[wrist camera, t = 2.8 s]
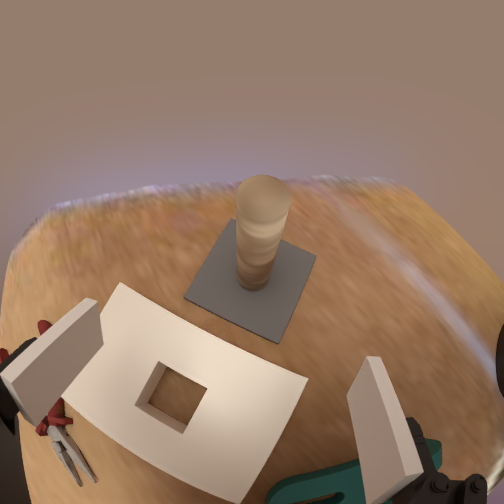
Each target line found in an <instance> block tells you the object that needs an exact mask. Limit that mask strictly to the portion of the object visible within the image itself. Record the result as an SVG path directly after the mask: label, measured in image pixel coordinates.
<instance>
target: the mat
mask: <svg viewBox="0 0 504 504" xmlns="http://www.w3.org/2000/svg"><path fill="white" fill-rule="evenodd" d="M315 259H316V255H314V254H312V253H310V252H307V251H305V250H303V249H301V248H298V247H296V246H294V245H292V244H289V243H287V242H285V241H283V240H280V243H279V246H278V250H277V253H276V257H275V260H274V264H273V267H272V270H271V274H270V277H269V281H268V283H267V285H266V286H265V287H264V288H263V289H261V290H259V291H248V290H245V289H244V288H242V287H241V286H240V285H239V283H238V281H237V239H236V220H234V219H232V218H231V219H230V221H229V223H228V224H227V226H226V227H225V229H224V231H223V232H222V234H221V235H220V237H219V239H218V240H217V242H216V244H215V245H214V247H213V249H212V250H211V252H210V253H209V255H208V257H207V258H206V260H205V262H204V263H203V265H202V267H201V268H200V270H199V272H198V273H197V275H196V277H195V278H194V280H193V282H192V283H191V285H190V287H189V289H188V290H187V292H186V294H185V295H184V298H185V299H187V300H188V301H190V302H192V303H194V304H196V305H198V306H200V307H202V308H204V309H206V310H208V311H210V312H211V313H213V314H215V315H217V316H219V317H221V318H223V319H225V320H227V321H229V322H231V323H234V324H236V325H238V326H240V327H242V328H244V329H246V330H248V331H250V332H252V333H254V334H257V335H259V336H261V337H263V338H265V339H267V340H270V341H272V342H274V343H276V344H279V342H280V340H281V338H282V335H283V333H284V331H285V329H286V327H287V324H288V322H289V320H290V318H291V315H292V313H293V311H294V309H295V306H296V304H297V302H298V299H299V297H300V295H301V292H302V290H303V288H304V285H305V283H306V281H307V278H308V276H309V273H310V271H311V269H312V266H313V264H314V261H315Z"/></svg>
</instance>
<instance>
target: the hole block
mask: <svg viewBox="0 0 504 504" xmlns="http://www.w3.org/2000/svg"><path fill="white" fill-rule="evenodd" d="M100 322H101V329H102V336H103V342H104V345H103V346H102V347H101V348H100V350H99V351H98V352H97V353H96V354H95V355H94V357H93V358H92V359H91V360H90V361H89V363H88V364H87V365H86V366H85V367H84V368H83V370H82V371H81V372H80V373H79V374H78V376H77V377H76V378H75V379H74V381H73V382H72V383H71V384H70V385H69V387H68V388H67V389H66V390H65V392H64V393H63V394H62V395H61V397H62V398H63V399H64V400H65V401H66V402H67V403H68V404H70V405H71V406H72V407H73V408H74V409H75V410H76V411H77V412H79V413H80V414H81V415H82V416H83V417H85V418H86V419H87V420H88V421H89V422H91V423H92V424H93V425H94V426H96V427H97V428H98V429H100V430H101V431H102V432H104V433H105V434H106V435H108V436H109V437H110V438H112V439H113V440H115V441H116V442H117V443H119V444H120V445H122V446H123V447H125V448H126V449H128V450H129V451H131V452H132V453H134V454H135V455H137V456H139V457H140V458H142V459H143V460H145V461H147V462H148V463H150V464H152V465H154V466H155V467H157V468H159V469H161V470H162V471H164V472H166V473H168V474H170V475H172V476H174V477H175V478H177V479H179V480H181V481H183V482H185V483H188V484H190V485H192V486H194V487H196V488H198V489H201V490H203V491H205V492H207V493H210V494H212V495H215V496H217V497H220V498H222V499H225V500H227V501H230V502H233V503H236V504H240V503H241V502H242V500H243V498H244V497H245V495H246V494H247V492H248V491H249V489H250V488H251V486H252V484H253V483H254V481H255V479H256V478H257V476H258V475H259V473H260V471H261V470H262V468H263V466H264V464H265V463H266V461H267V459H268V457H269V456H270V454H271V452H272V450H273V449H274V447H275V445H276V443H277V441H278V439H279V437H280V436H281V434H282V432H283V430H284V428H285V426H286V424H287V422H288V420H289V418H290V416H291V414H292V412H293V410H294V408H295V406H296V404H297V402H298V400H299V398H300V396H301V393H302V391H303V389H304V387H305V385H306V383H307V380H308V378H305V377H303V376H300V375H298V374H296V373H293V372H291V371H288V370H286V369H284V368H281V367H279V366H277V365H274V364H272V363H270V362H268V361H265V360H263V359H261V358H259V357H257V356H255V355H252V354H250V353H248V352H246V351H244V350H242V349H240V348H238V347H236V346H233V345H231V344H229V343H227V342H225V341H223V340H221V339H219V338H217V337H215V336H213V335H212V334H210V333H208V332H206V331H204V330H202V329H200V328H198V327H196V326H194V325H193V324H191V323H189V322H187V321H185V320H183V319H182V318H180V317H178V316H176V315H174V314H173V313H171V312H169V311H167V310H166V309H164V308H162V307H160V306H159V305H157V304H155V303H154V302H152V301H150V300H148V299H147V298H145V297H143V296H142V295H140V294H139V293H137V292H135V291H134V290H132V289H130V288H129V287H127V286H126V285H124V284H122V283H121V282H120V283H119V284H118V286H117V287H116V289H115V291H114V292H113V294H112V296H111V297H110V299H109V301H108V302H107V304H106V306H105V307H104V309H103V311H102V312H101V314H100ZM167 366H168V367H170V368H171V369H173V370H175V371H176V372H178V373H180V374H182V375H184V376H185V377H187V378H189V379H191V380H193V381H194V382H196V383H198V384H200V385H202V386H204V387H206V388H208V389H207V391H206V393H205V395H204V396H203V398H202V400H201V402H200V404H199V406H198V408H197V409H196V411H195V413H194V415H193V417H192V419H191V420H190V422H189V424H188V426H187V425H185V424H183V423H181V422H179V421H178V420H176V419H174V418H172V417H170V416H169V415H167V414H165V413H164V412H162V411H160V410H159V409H157V408H155V407H154V406H152V405H150V404H149V403H148V401H149V400H150V398H151V396H152V394H153V392H154V390H155V388H156V387H157V385H158V383H159V381H160V379H161V377H162V375H163V374H164V372H165V370H166V368H167Z"/></svg>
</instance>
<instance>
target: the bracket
mask: <svg viewBox="0 0 504 504" xmlns="http://www.w3.org/2000/svg"><path fill="white" fill-rule="evenodd" d="M425 440H426V444H427V446H428V448H429V451H430V454H431V457H432V459H433V462H434V465H435V468H436V470H438V469H439V468H440V467H441V465H442V444H441V442H440V441H437V440H432V439H426V438H425ZM335 492H338V493H337V494H336V495H335V496H334V497H331V498H328V499H324V500H320V501H316V502H312V503H308V504H366V497H365V491H364V484H363V478H362V472H361V466H360V460H359V459H356V460H353V461H350V462H347V463H344V464H340V465H337V466H333V467H330V468H326V469H322V470H319V471H315V472H310V473H306V474H301V475H297V476H292V477H289V478H286V479H284V480H282V481H280V482H278V483H277V484H276V485H275V486H273V487H272V488H271V490H270V491H269V493H268V494H267V497H266V504H291V503H295V502H300V501H304V500H309V499H313V498H317V497H321V496H325V495H328V494H332V493H335ZM391 503H393V502H392V497H391V498H390V499H388V500H387V501H385V502H384V503H380V504H391Z"/></svg>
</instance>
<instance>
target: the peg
mask: <svg viewBox="0 0 504 504" xmlns="http://www.w3.org/2000/svg"><path fill="white" fill-rule="evenodd" d="M290 203H291V193H290V190H289V188H288V187H287V186H286V184H284V183H283V182H282V181H281V180H279V179H277V178H275V177H272V176H268V175H256V176H252V177H249V178H247V179H246V180H244V181H243V182H242V183H241V184H240V185H239V187H238V189H237V200H236V239H237V281H238V283H239V285H240V286H241V287H242V288H244V289H245V290H248V291H259V290H261V289H263V288H264V287H265V286H266V285H267V283H268V281H269V277H270V274H271V270H272V267H273V264H274V260H275V257H276V253H277V250H278V246H279V243H280V239H281V235H282V232H283V228H284V225H285V221H286V218H287V214H288V210H289V207H290Z"/></svg>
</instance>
